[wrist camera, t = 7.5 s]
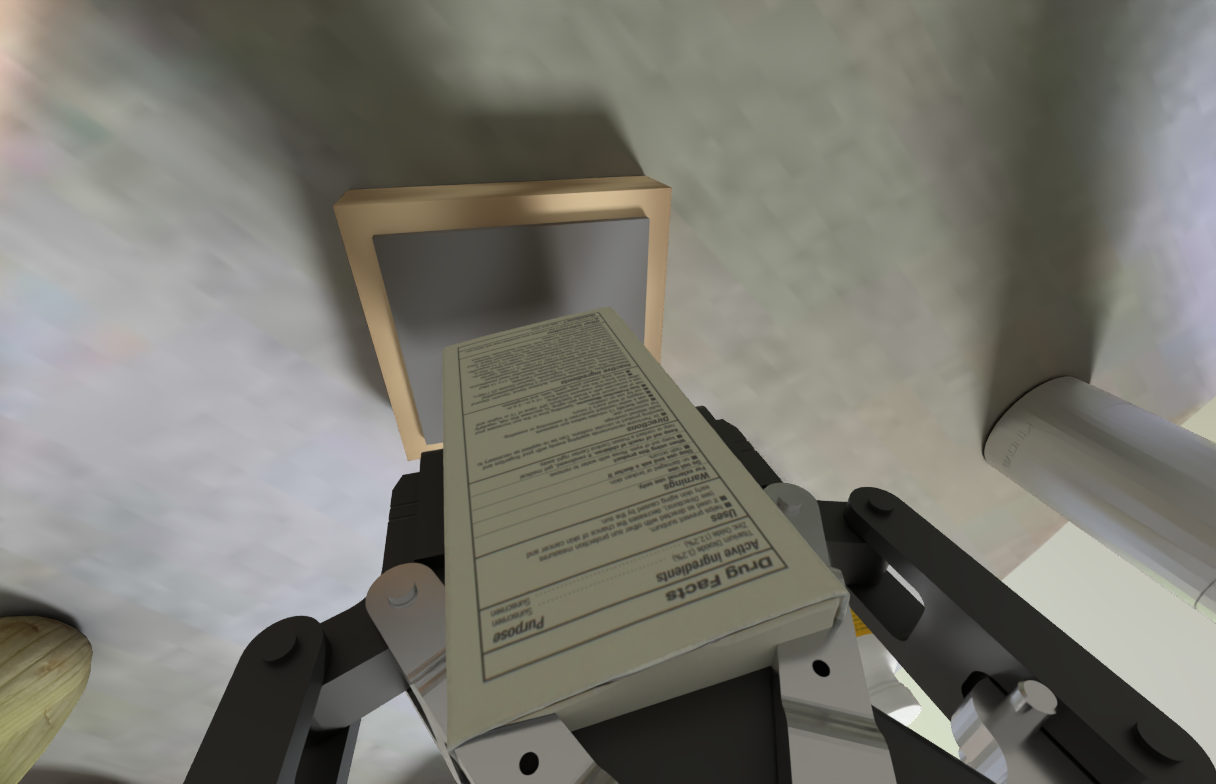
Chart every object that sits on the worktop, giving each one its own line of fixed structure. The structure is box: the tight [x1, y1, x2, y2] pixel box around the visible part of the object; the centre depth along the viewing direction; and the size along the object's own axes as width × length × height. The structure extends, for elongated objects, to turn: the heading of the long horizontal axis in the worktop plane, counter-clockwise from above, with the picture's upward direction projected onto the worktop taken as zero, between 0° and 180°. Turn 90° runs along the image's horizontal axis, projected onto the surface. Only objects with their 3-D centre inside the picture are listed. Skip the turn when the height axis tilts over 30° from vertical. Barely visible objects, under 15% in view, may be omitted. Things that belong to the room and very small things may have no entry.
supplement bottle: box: [850, 608, 921, 726], centre depth 35 cm, size 7×7×13 cm
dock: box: [333, 176, 672, 461], centre depth 21 cm, size 12×11×3 cm
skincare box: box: [442, 307, 850, 772], centre depth 13 cm, size 6×4×12 cm
